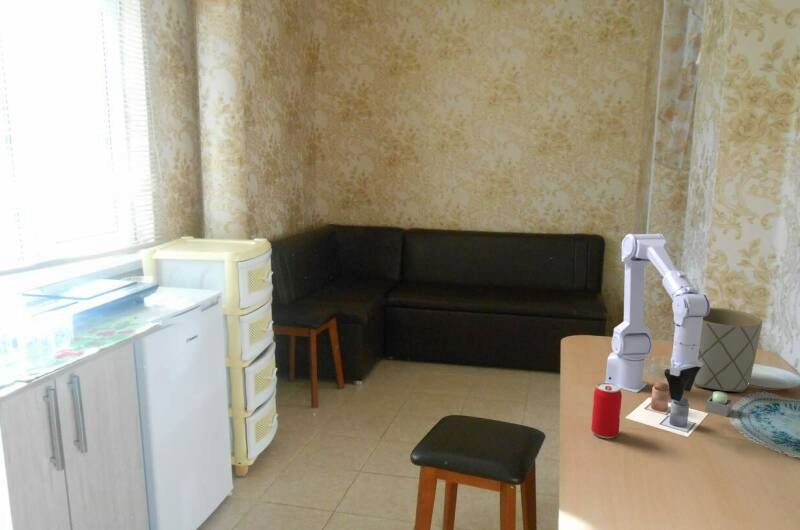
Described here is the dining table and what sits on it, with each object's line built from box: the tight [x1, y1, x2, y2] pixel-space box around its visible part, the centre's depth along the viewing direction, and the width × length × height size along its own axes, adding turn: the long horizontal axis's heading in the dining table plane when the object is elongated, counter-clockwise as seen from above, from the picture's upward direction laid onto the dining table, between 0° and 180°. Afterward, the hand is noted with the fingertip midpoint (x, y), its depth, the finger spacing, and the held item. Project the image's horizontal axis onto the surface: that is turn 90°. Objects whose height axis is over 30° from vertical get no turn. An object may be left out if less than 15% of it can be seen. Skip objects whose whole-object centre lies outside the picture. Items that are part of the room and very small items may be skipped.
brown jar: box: [651, 382, 670, 412], centre depth 162 cm, size 4×4×6 cm
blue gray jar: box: [669, 396, 690, 428], centre depth 153 cm, size 4×4×6 cm
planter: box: [693, 306, 763, 393], centre depth 179 cm, size 19×19×20 cm
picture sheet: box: [625, 397, 709, 438], centre depth 158 cm, size 15×17×1 cm
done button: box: [712, 390, 729, 405], centre depth 161 cm, size 3×3×3 cm
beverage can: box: [590, 382, 623, 439], centre depth 147 cm, size 6×6×12 cm
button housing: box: [704, 394, 734, 418], centre depth 161 cm, size 5×5×3 cm
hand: (680, 394), depth 152 cm, fingers open, 7 cm apart
